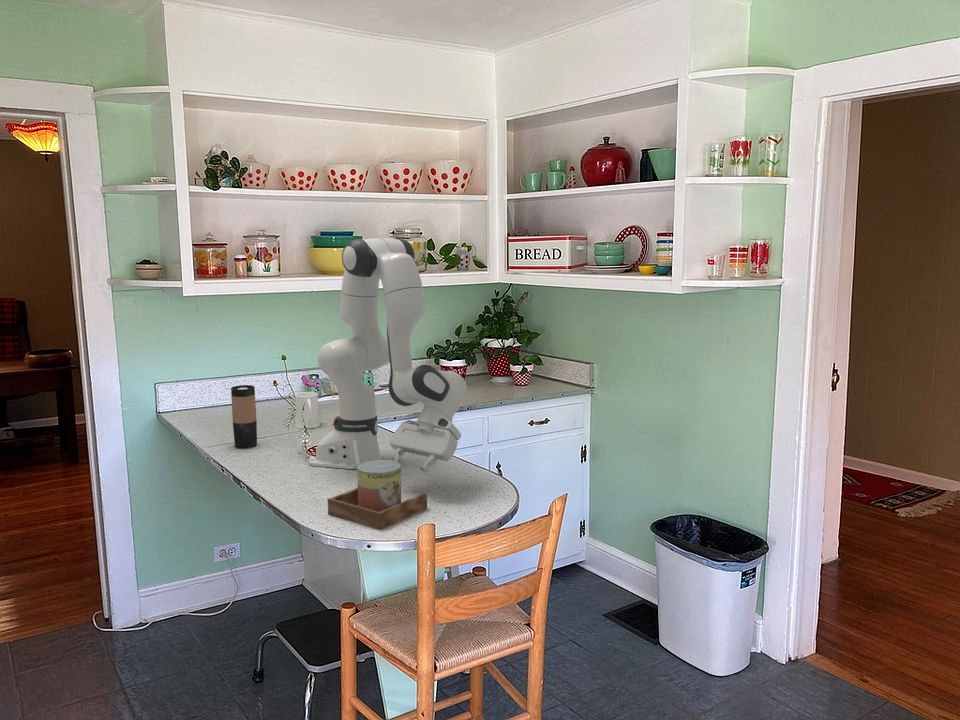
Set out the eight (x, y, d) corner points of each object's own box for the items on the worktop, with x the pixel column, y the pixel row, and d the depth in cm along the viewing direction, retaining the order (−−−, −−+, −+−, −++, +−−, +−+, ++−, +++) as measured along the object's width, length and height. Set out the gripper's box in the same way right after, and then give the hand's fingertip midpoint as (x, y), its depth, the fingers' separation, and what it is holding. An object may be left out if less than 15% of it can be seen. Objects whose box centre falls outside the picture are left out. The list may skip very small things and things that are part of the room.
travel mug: (262, 443, 271) (259, 385, 268) (250, 449, 264) (246, 390, 260) (242, 442, 273) (238, 384, 270) (229, 448, 266) (226, 389, 262)
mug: (321, 430, 288) (320, 397, 286) (297, 432, 286) (295, 399, 284) (318, 422, 299) (317, 390, 297) (295, 424, 297) (293, 392, 295)
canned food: (375, 521, 200) (374, 475, 198) (349, 510, 208) (348, 465, 206) (410, 510, 208) (409, 466, 206) (384, 499, 216) (383, 456, 214)
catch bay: (376, 494, 220) (376, 480, 219) (427, 508, 210) (426, 493, 209) (328, 514, 206) (327, 499, 205) (379, 529, 195) (379, 513, 195)
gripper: (398, 413, 227) (375, 454, 220) (456, 423, 215) (433, 468, 209) (409, 425, 231) (387, 466, 225) (466, 436, 219) (444, 480, 213)
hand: (409, 467), depth 217 cm, fingers open, 8 cm apart
